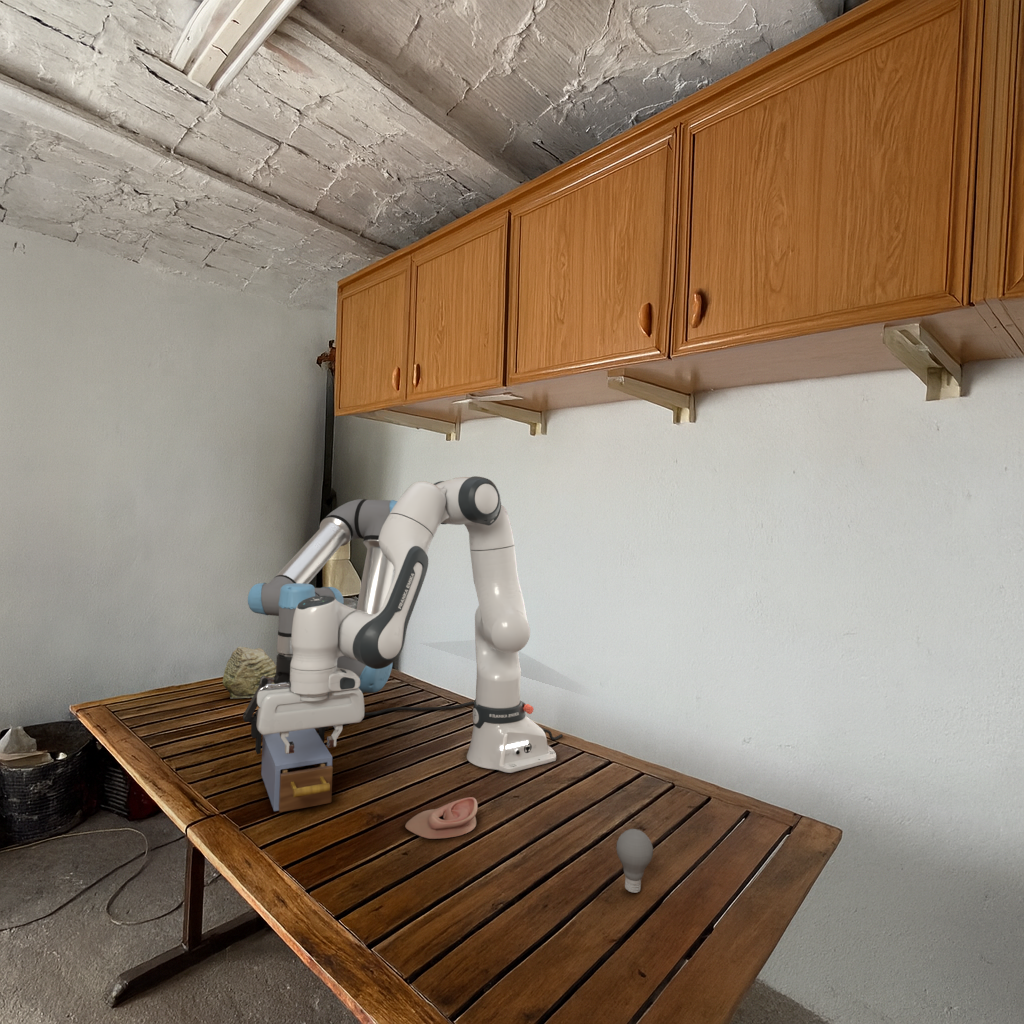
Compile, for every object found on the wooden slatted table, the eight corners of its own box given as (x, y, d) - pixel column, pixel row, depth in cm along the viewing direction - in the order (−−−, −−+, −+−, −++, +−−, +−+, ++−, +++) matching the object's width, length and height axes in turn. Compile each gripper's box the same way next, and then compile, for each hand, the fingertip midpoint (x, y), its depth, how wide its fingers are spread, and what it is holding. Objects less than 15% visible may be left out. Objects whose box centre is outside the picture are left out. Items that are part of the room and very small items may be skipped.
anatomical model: (399, 813, 120) (420, 787, 131) (398, 834, 120) (419, 806, 131) (467, 823, 117) (482, 796, 128) (466, 845, 117) (481, 815, 128)
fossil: (218, 695, 195) (220, 647, 195) (278, 685, 208) (279, 640, 207) (228, 703, 189) (230, 653, 188) (289, 692, 201) (290, 645, 201)
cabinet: (330, 800, 132) (332, 756, 132) (273, 811, 127) (275, 765, 127) (312, 766, 148) (313, 727, 148) (261, 774, 143) (262, 734, 143)
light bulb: (610, 879, 108) (613, 822, 108) (644, 879, 109) (647, 822, 109) (619, 902, 102) (622, 840, 102) (655, 901, 103) (658, 840, 103)
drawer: (337, 814, 125) (339, 778, 125) (284, 825, 120) (285, 787, 120) (313, 769, 144) (314, 738, 144) (266, 777, 139) (268, 744, 139)
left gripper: (236, 661, 133) (231, 761, 133) (354, 653, 145) (349, 745, 145) (232, 653, 139) (228, 749, 140) (345, 646, 152) (341, 734, 152)
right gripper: (259, 689, 117) (256, 764, 117) (368, 678, 127) (365, 747, 127) (254, 680, 122) (252, 751, 122) (359, 670, 132) (357, 736, 132)
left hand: (290, 747), depth 142 cm, fingers open, 13 cm apart
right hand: (310, 749), depth 125 cm, fingers open, 7 cm apart
